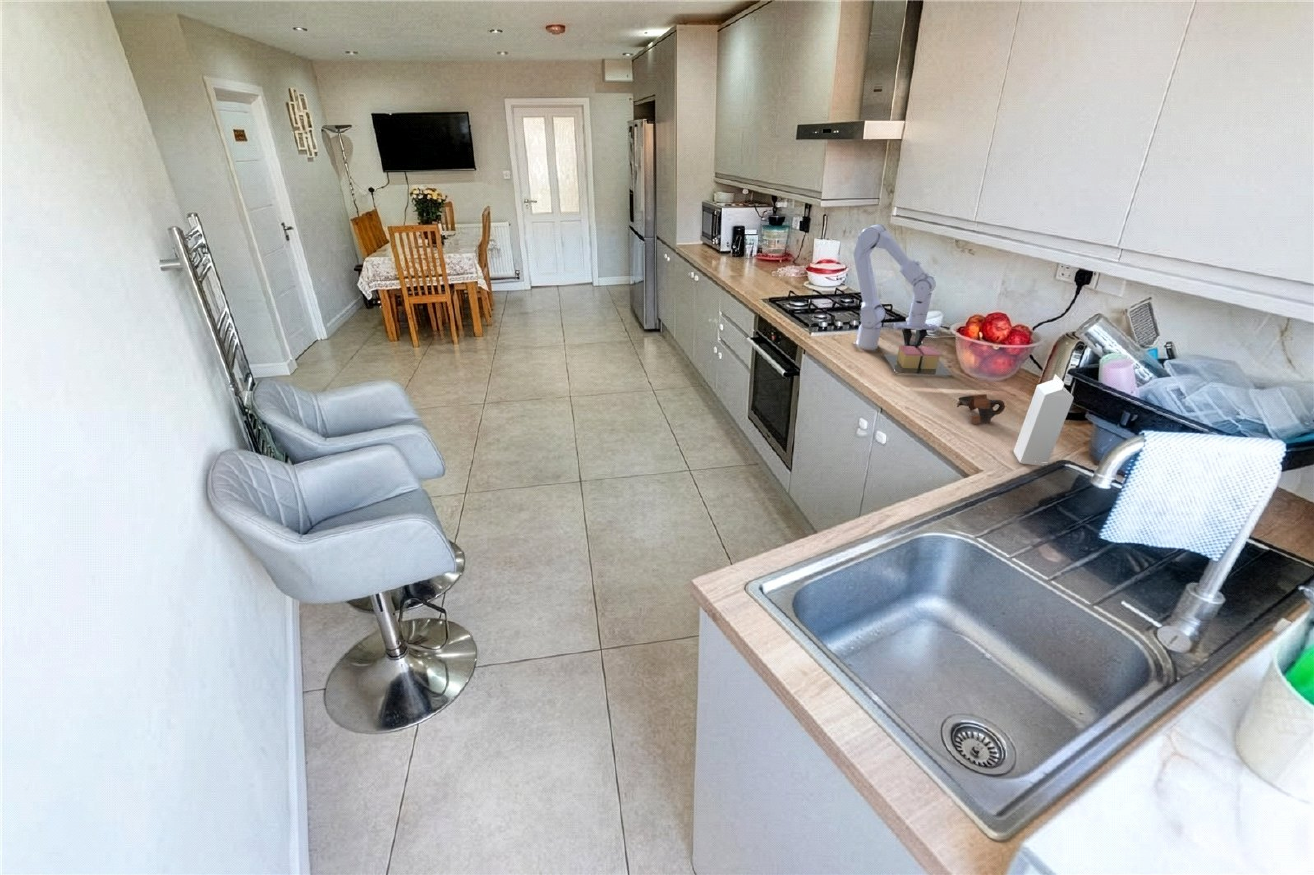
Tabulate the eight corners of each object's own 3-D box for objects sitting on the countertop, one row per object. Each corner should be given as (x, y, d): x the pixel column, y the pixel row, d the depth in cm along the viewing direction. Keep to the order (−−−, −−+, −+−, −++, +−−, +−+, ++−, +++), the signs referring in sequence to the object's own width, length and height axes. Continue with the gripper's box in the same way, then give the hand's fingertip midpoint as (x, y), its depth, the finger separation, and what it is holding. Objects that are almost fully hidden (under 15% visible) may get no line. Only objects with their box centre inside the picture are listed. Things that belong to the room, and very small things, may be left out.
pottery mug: (961, 425, 159) (958, 396, 159) (955, 425, 168) (952, 398, 168) (1010, 420, 155) (1006, 390, 155) (1001, 420, 164) (998, 392, 164)
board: (882, 356, 205) (883, 354, 205) (934, 358, 204) (934, 356, 203) (895, 375, 190) (896, 373, 189) (951, 377, 188) (952, 375, 188)
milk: (1038, 455, 144) (1069, 375, 133) (1046, 467, 139) (1080, 384, 128) (1012, 451, 145) (1041, 372, 134) (1019, 463, 140) (1050, 382, 129)
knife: (904, 350, 206) (906, 340, 204) (910, 350, 206) (913, 340, 204) (918, 367, 191) (920, 356, 189) (925, 368, 191) (928, 356, 189)
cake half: (896, 359, 200) (899, 345, 198) (911, 360, 200) (914, 346, 197) (902, 368, 193) (906, 353, 191) (917, 368, 193) (921, 354, 190)
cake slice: (914, 360, 200) (917, 346, 197) (929, 360, 199) (932, 346, 197) (921, 368, 193) (925, 354, 190) (936, 369, 192) (940, 354, 190)
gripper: (900, 315, 194) (892, 352, 200) (944, 316, 192) (934, 353, 199) (894, 309, 200) (887, 345, 206) (937, 310, 198) (928, 347, 205)
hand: (910, 349), depth 203 cm, fingers closed on knife, 2 cm apart
